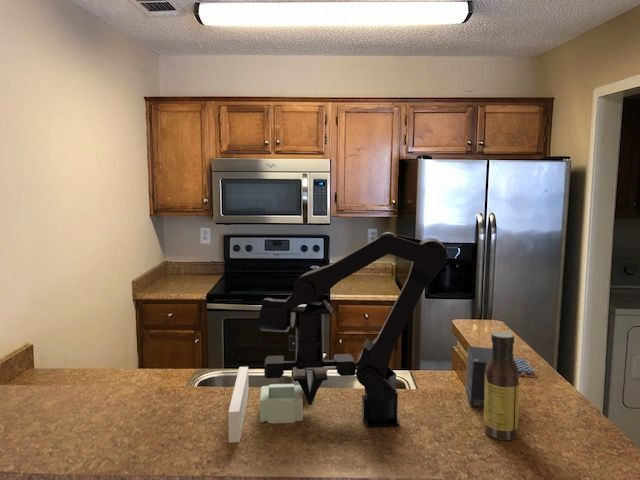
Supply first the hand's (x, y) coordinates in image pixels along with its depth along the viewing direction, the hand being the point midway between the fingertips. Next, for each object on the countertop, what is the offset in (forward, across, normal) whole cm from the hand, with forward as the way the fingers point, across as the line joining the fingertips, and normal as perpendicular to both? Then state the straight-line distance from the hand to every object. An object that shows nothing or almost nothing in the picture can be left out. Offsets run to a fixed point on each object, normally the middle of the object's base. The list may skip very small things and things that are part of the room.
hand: (309, 404), depth 99 cm
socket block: (+2, +6, 0) cm, 6 cm away
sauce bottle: (+2, -36, +11) cm, 38 cm away
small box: (+2, -39, -4) cm, 40 cm away
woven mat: (+3, -54, -21) cm, 58 cm away
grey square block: (+2, +1, -10) cm, 10 cm away
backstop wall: (+2, +15, 0) cm, 15 cm away
